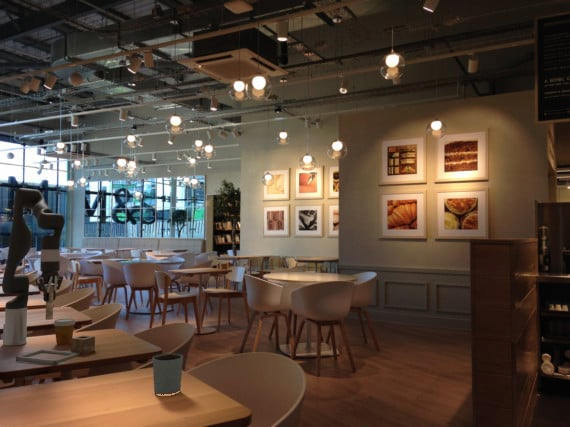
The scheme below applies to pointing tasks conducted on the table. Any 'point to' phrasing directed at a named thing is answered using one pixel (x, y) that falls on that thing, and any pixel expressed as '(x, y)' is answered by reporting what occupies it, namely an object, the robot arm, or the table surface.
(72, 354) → the tray
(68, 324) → the disposable coffee cup
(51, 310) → the dowel
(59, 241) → the robot arm
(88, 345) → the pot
